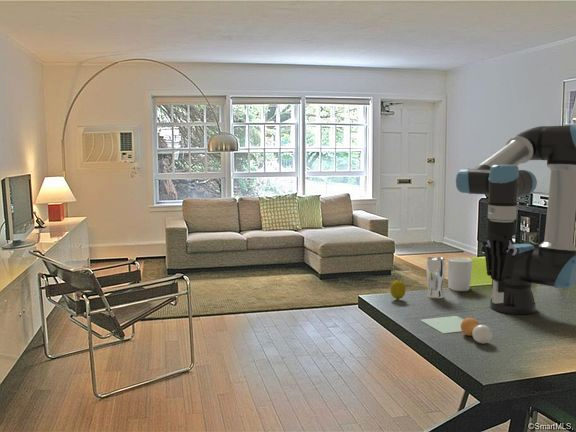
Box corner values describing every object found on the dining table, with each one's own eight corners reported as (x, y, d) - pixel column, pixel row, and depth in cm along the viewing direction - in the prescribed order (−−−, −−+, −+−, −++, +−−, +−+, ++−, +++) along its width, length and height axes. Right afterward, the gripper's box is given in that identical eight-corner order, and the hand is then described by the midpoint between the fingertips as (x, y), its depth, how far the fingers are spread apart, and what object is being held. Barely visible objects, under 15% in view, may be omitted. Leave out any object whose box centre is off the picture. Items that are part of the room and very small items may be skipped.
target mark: (456, 316, 191) (456, 315, 191) (481, 329, 177) (481, 328, 177) (419, 320, 187) (419, 319, 187) (443, 333, 173) (443, 333, 173)
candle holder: (442, 285, 232) (443, 257, 230) (465, 285, 233) (466, 256, 231) (451, 291, 222) (452, 262, 221) (475, 291, 223) (476, 261, 221)
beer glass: (434, 300, 211) (435, 261, 209) (421, 295, 217) (423, 257, 215) (448, 297, 214) (449, 259, 212) (435, 293, 220) (436, 256, 218)
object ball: (474, 336, 174) (470, 318, 176) (485, 333, 169) (480, 315, 171) (459, 337, 172) (455, 320, 174) (469, 335, 167) (465, 317, 169)
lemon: (405, 302, 207) (405, 281, 206) (390, 301, 208) (390, 280, 207) (405, 298, 213) (405, 278, 212) (390, 297, 214) (390, 277, 213)
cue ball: (499, 335, 162) (490, 344, 166) (488, 319, 165) (480, 328, 169) (484, 339, 160) (475, 348, 164) (473, 323, 163) (465, 332, 167)
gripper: (475, 217, 160) (472, 297, 163) (505, 224, 148) (501, 310, 151) (497, 216, 163) (494, 295, 166) (529, 222, 150) (524, 307, 153)
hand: (497, 302), depth 158 cm, fingers closed
